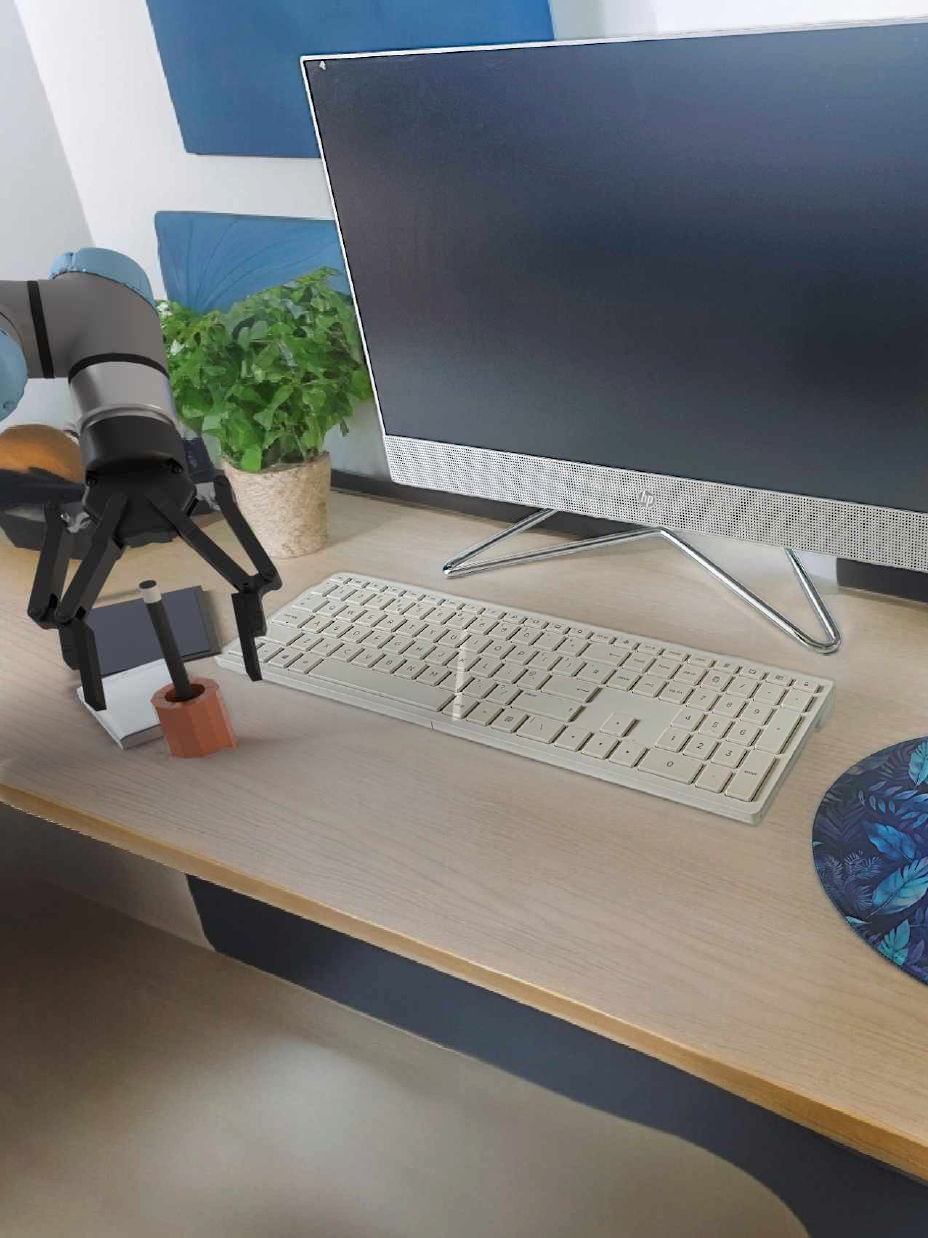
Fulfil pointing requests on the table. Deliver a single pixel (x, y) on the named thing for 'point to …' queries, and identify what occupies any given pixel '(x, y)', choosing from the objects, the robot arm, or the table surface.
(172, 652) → the stylus
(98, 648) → the tablet
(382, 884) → the table surface
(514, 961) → the table surface
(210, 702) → the pen holder
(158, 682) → the hard drive
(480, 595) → the table surface
